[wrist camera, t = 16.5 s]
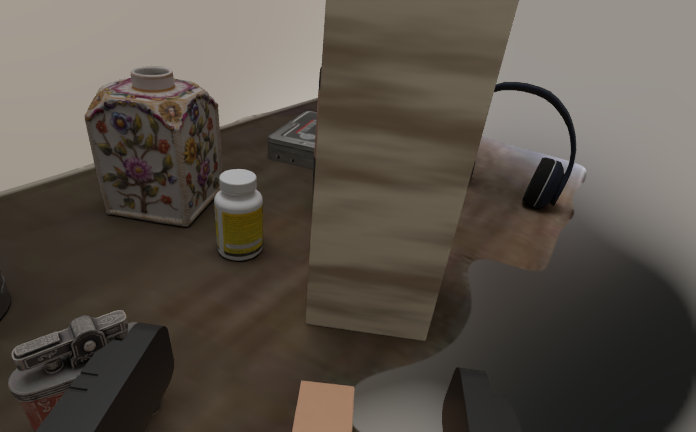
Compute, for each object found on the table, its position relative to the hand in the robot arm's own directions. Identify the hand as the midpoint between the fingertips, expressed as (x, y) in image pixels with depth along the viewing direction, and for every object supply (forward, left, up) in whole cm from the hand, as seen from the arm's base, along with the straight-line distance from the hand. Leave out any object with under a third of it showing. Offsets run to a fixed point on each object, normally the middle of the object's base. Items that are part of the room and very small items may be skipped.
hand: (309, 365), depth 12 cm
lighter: (-9, +16, -22) cm, 28 cm away
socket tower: (+16, +22, -21) cm, 35 cm away
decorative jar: (-2, +49, -22) cm, 54 cm away
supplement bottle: (+5, +35, -22) cm, 42 cm away
